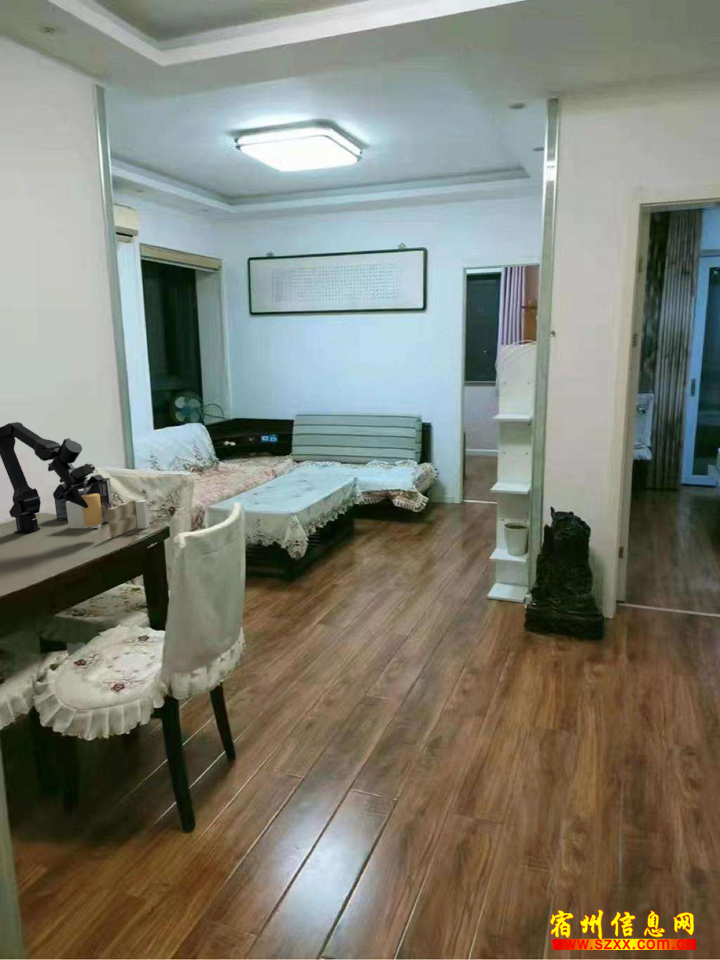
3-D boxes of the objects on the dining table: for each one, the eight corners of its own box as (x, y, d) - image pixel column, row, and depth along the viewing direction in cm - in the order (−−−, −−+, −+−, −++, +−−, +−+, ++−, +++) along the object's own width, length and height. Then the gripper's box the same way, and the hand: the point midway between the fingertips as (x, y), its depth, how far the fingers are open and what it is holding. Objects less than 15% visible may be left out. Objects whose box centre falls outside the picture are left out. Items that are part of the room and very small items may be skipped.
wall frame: (149, 526, 246) (146, 500, 244) (146, 528, 244) (143, 501, 242) (71, 526, 250) (68, 500, 248) (68, 528, 247) (64, 502, 245)
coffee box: (115, 517, 261) (110, 477, 258) (112, 522, 255) (107, 480, 251) (90, 519, 259) (85, 479, 256) (87, 524, 253) (82, 482, 250)
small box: (90, 515, 267) (87, 489, 265) (81, 519, 260) (78, 493, 258) (64, 515, 268) (61, 490, 266) (56, 519, 261) (52, 493, 259)
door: (135, 526, 246) (132, 499, 244) (139, 526, 246) (136, 499, 244) (110, 537, 233) (107, 509, 231) (114, 537, 232) (111, 509, 230)
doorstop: (81, 526, 228) (78, 497, 226) (86, 521, 233) (83, 494, 231) (100, 525, 228) (96, 496, 226) (104, 520, 234) (101, 493, 232)
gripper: (55, 461, 219) (84, 496, 217) (97, 452, 236) (124, 484, 234) (40, 483, 224) (69, 517, 222) (83, 472, 241) (109, 504, 239)
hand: (94, 505), depth 229 cm, fingers closed on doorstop, 6 cm apart
